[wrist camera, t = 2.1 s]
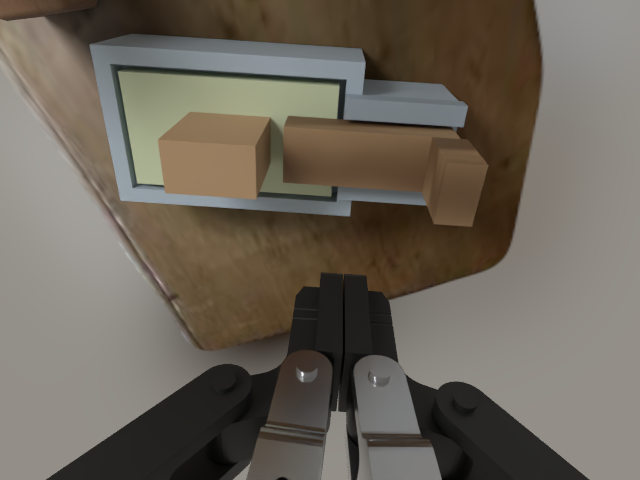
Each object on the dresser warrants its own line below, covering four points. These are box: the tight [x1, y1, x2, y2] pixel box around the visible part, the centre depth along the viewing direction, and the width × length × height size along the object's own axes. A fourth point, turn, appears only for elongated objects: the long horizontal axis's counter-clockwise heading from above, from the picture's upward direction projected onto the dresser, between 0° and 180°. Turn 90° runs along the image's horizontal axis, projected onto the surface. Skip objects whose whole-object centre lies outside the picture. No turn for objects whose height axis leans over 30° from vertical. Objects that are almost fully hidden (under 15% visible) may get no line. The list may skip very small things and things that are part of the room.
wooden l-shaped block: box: [283, 116, 488, 227], centre depth 25 cm, size 3×10×6 cm, turn 87°
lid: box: [118, 67, 340, 199], centre depth 26 cm, size 7×13×7 cm, turn 87°
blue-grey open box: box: [89, 34, 468, 216], centre depth 30 cm, size 10×22×7 cm, turn 87°
